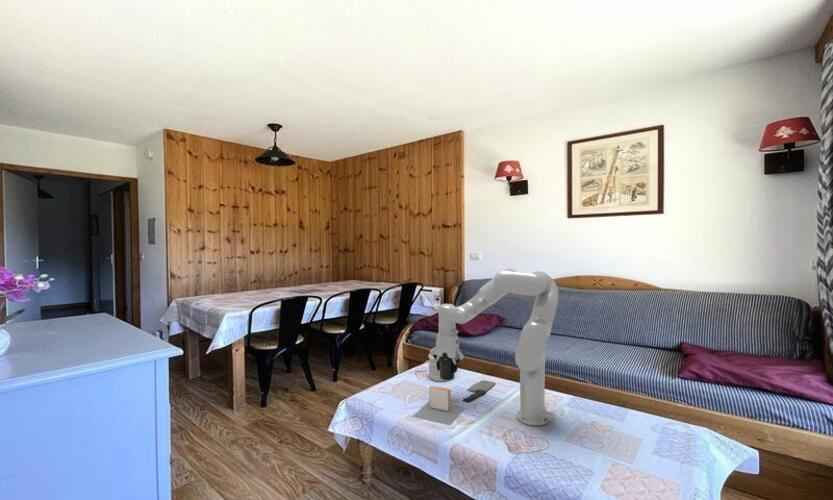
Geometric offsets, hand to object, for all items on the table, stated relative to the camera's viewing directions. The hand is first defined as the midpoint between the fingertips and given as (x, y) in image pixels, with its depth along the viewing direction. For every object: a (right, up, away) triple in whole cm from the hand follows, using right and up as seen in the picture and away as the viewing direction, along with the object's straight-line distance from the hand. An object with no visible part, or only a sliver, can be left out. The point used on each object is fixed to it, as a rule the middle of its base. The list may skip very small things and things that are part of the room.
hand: (446, 370), depth 171 cm
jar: (-1, -14, +30) cm, 33 cm away
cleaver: (+15, -14, +11) cm, 24 cm away
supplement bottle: (0, -3, 0) cm, 3 cm away
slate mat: (-4, -15, -11) cm, 19 cm away
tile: (-4, -14, -8) cm, 16 cm away
